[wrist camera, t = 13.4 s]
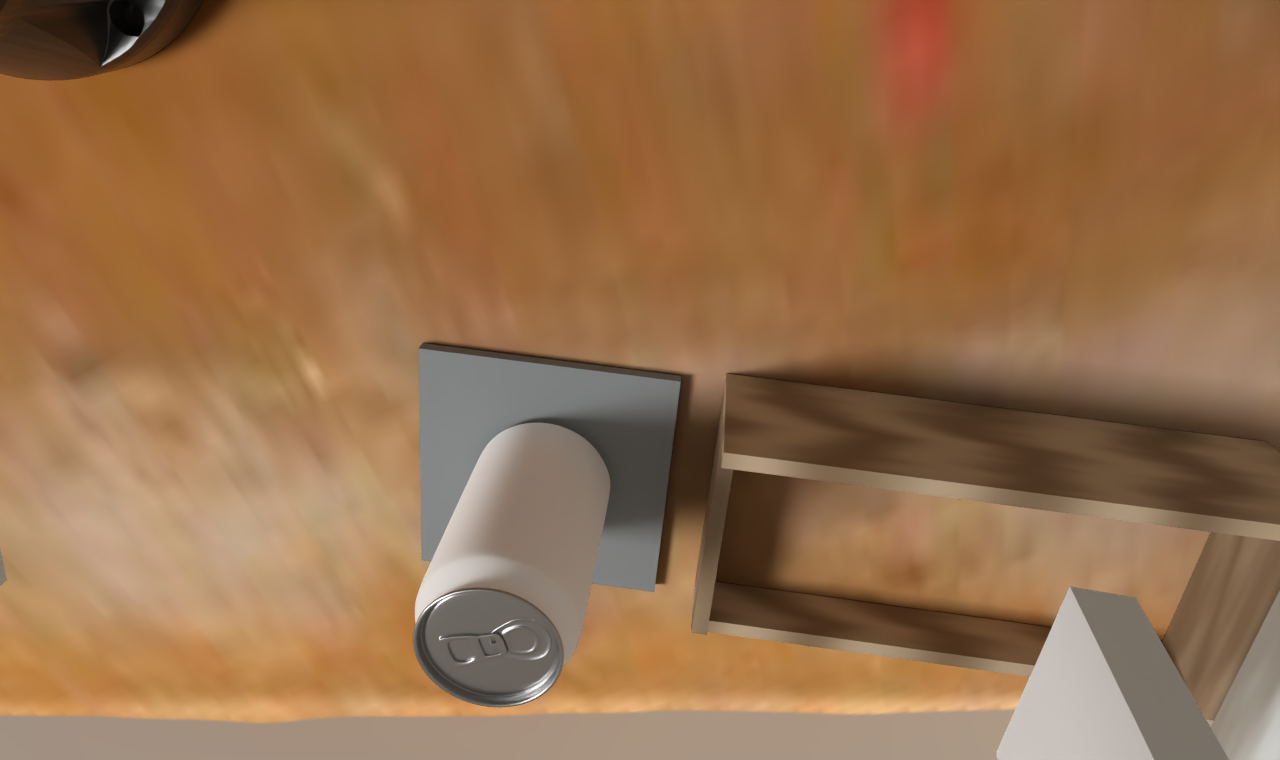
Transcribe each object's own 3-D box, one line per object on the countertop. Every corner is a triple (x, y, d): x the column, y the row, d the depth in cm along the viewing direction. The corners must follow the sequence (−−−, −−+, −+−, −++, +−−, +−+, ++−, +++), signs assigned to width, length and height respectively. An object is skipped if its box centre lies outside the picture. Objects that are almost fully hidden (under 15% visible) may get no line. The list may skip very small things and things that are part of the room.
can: (627, 519, 46) (596, 703, 35) (503, 542, 47) (437, 726, 36) (589, 405, 43) (543, 565, 33) (459, 432, 45) (374, 596, 34)
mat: (425, 553, 49) (421, 560, 48) (422, 343, 43) (418, 348, 43) (655, 584, 48) (654, 591, 48) (681, 375, 43) (680, 381, 42)
